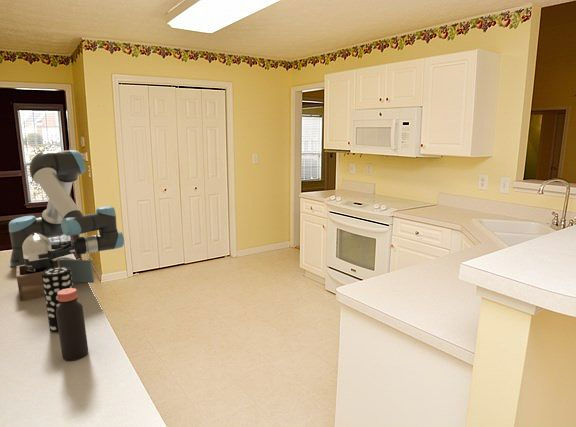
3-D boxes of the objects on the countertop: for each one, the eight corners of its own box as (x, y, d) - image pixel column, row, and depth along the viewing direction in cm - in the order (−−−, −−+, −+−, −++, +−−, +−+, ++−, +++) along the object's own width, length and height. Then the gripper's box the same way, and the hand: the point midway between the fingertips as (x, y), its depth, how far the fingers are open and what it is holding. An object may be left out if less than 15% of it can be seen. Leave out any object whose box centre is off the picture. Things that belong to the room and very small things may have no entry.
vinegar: (82, 346, 122) (74, 284, 118) (92, 353, 118) (84, 290, 114) (58, 356, 117) (49, 292, 113) (68, 364, 113) (59, 298, 109)
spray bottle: (44, 295, 162) (35, 235, 157) (22, 293, 164) (13, 235, 159) (63, 286, 172) (55, 229, 167) (42, 284, 174) (34, 228, 169)
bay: (20, 288, 170) (16, 266, 168) (60, 280, 178) (57, 259, 176) (20, 301, 157) (16, 276, 155) (63, 292, 165) (60, 269, 163)
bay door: (62, 281, 178) (59, 259, 176) (63, 280, 179) (60, 258, 177) (92, 282, 175) (90, 261, 173) (94, 282, 176) (91, 260, 174)
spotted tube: (51, 324, 137) (43, 268, 133) (78, 319, 140) (71, 265, 136) (48, 335, 129) (39, 276, 125) (77, 329, 133) (69, 272, 129)
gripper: (91, 260, 165) (30, 270, 153) (82, 246, 185) (28, 255, 173) (88, 242, 163) (27, 252, 152) (80, 231, 183) (25, 238, 172)
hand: (27, 253), depth 162 cm, fingers open, 13 cm apart
